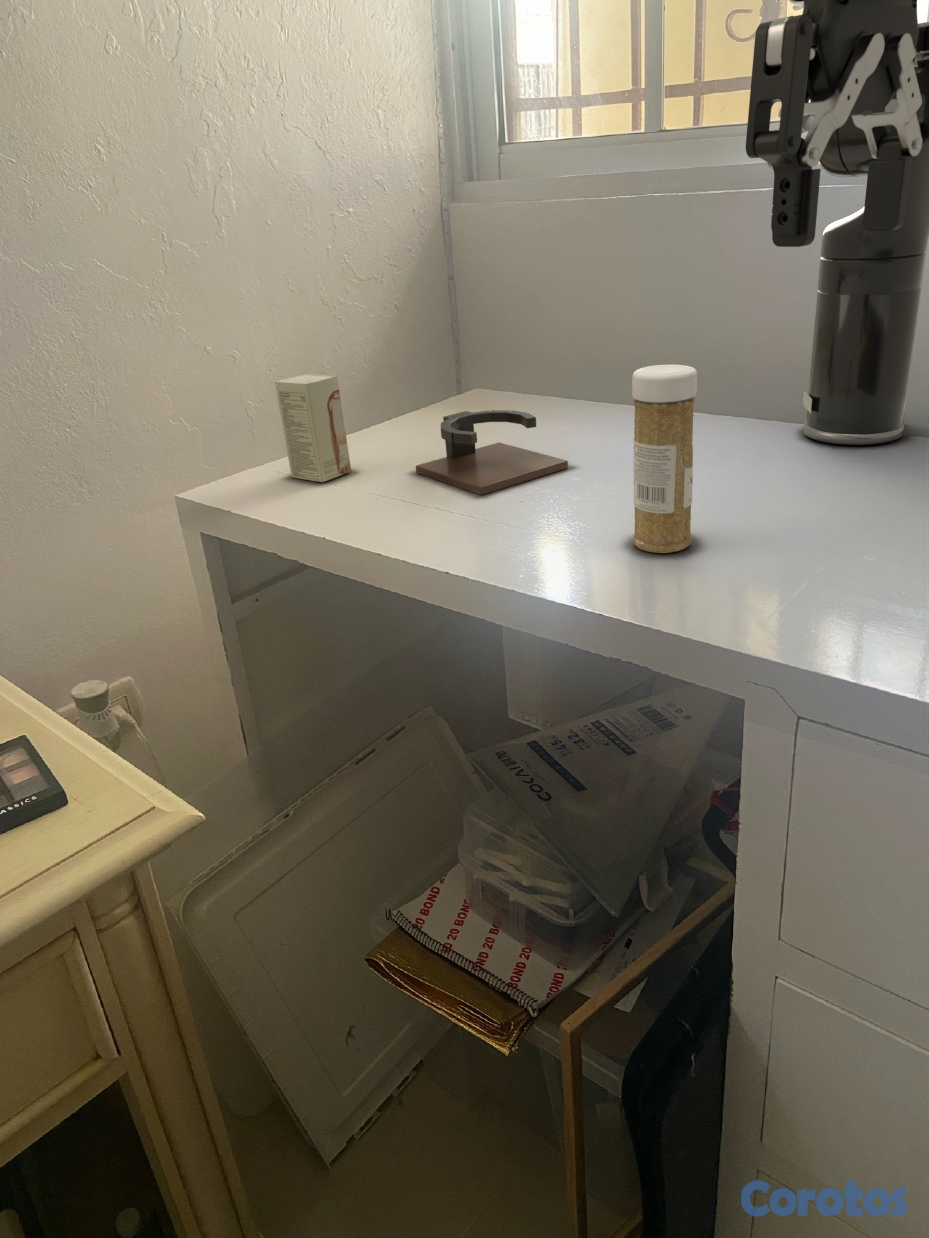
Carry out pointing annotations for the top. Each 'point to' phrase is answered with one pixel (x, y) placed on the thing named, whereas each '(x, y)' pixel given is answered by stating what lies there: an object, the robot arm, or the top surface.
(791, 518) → the top surface
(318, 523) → the top surface
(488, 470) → the cup holder
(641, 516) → the spice jar
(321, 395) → the printed product carton
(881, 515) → the top surface
